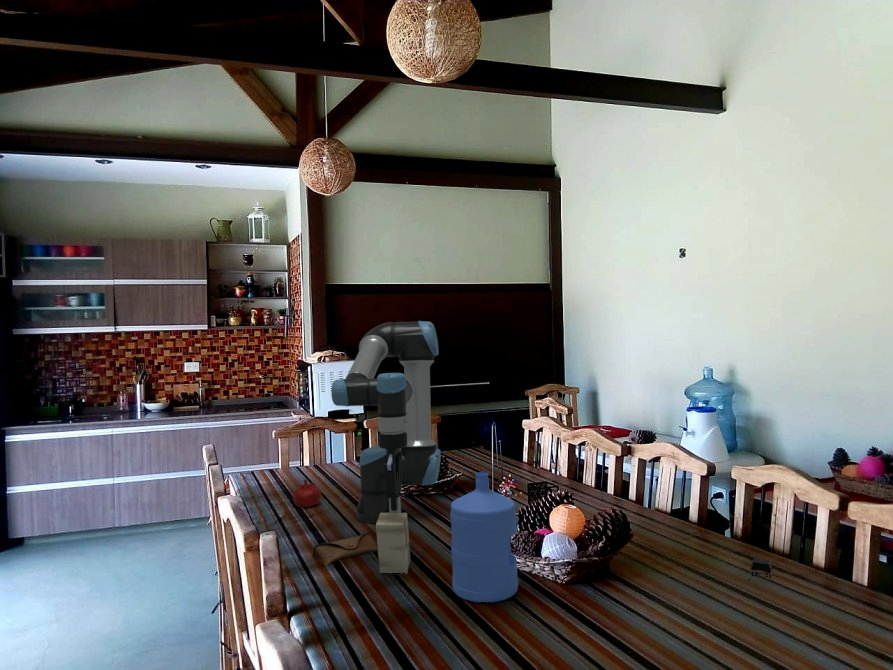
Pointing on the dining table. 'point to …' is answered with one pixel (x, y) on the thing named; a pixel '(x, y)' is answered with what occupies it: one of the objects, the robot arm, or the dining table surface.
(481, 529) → the water jug
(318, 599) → the dining table surface
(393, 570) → the cream and teal box
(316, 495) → the pomegranate
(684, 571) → the dining table surface
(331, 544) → the sunglasses case
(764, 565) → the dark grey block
